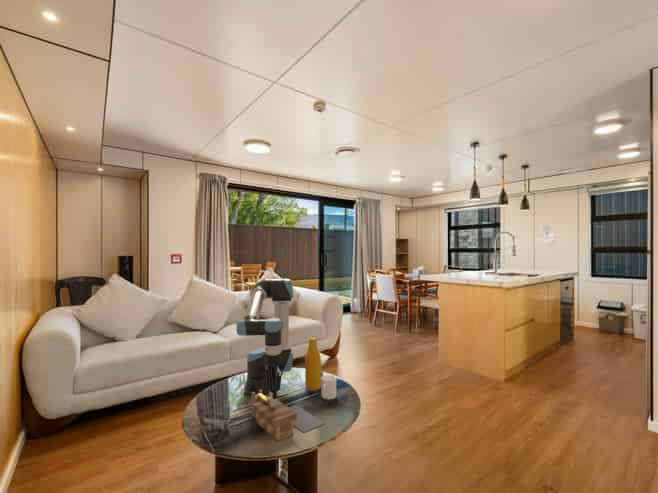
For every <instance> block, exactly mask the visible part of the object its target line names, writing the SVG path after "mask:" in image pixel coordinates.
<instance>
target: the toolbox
mask: <svg viewBox="0 0 658 493" xmlns="http://www.w3.org/2000/svg"><path fill="white" fill-rule="evenodd" d="M259 393H262V394H263V391H262V390H259ZM263 395H264V394H263ZM260 401H262V400H261V399H259V398H258V397H257V395H255V393H254V392H252V396H251V416H252V417H253V418H254V419H255V423H256V424H257V425H258V426H259V427H261V428H262V429H263V430H264V431H265V432H266V433H267V434H268V435H269V436H271V437H272V438H274V440H275V441H276V442H280V441H281V440H284V439H287V438H288V437H291V436H294V426H293V421H292V422H290V423H287V424H285V425H282V426H280V427H277V428H274V427H272V426H271V425H270V424H269V423H268V422H266V421H265V420H264V419H263V418H261V417H260V416H259V415H258V414H257V413H255V412H254V411H253V404H254V403H257V402H260Z"/></svg>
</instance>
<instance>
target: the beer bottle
mask: <svg viewBox="0 0 658 493" xmlns="http://www.w3.org/2000/svg"><path fill="white" fill-rule="evenodd" d="M304 361H305V363H304V364H305V369H304V370H305V371H304V372H305V374H304V377H305V380H304V381H305V383H304V386H305V387H304V388H305V389H306V390H307V391H310V392H314V391H315V392H316V391H318V390H320V389H321V378H322V374H321V370H322V368H321V367H322V366H321V362H322V360H321V354H320V351H319V348H318V342H317V338H316V337H310V338H309V340H308V349H307V351H306V354H305V358H304Z"/></svg>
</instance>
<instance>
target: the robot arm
mask: <svg viewBox="0 0 658 493" xmlns="http://www.w3.org/2000/svg"><path fill="white" fill-rule="evenodd" d="M293 286H294V285H293V282H292V279H290V278H265V279H262V280H260V281H258V282H256V283H255V284H254V285H253V286H252V288H251V289H250V292H249V300H248V301H249V302H248V305H247V308H246V310H245V314H244V317H243V319H239V320H238V321H237V322H236V329H235V330H236V334H237V336H241V337H242V336H244V337H249V336H264V347H261V348H256V349H252V350H250V351H249V352H248V353H247V358H246V365H247V368H246V372H247V373H246V374H247V375H246V381H245V383H244V384H245V385H244V387H243V388H244V389H243V391H244V392H243V393H244V394H245V395H247V396H250V397H252V392H254V393H255V395H257V394H259V390H262V391H263V395H266V394H268V393H269V397H270V406H271V407H272V406H274V405H277V400H278V399H277V398H278V395H277V394H278V392H279V391H281V384H282V377H283V373H285V372H291V370H292V366H293V360H294V350H292V346H290V344H289V342H290V341H289V340H290V339H289V338H290V337H289V331H290V330H289V329H290V328H289V327H290V318H289V317H290V315H289V314H290V310H289V309H290V306H289V305H290V303H291V302H292V299H294V297H295V296H294V288H293ZM266 299H271V302H272V304H274V308H273V309H274V310H273V311H274V312H273V314H274V315H273V316H274V317H272V318H268V319H260V317H261V314H262V309H263V305H264V301H265V300H266Z"/></svg>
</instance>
